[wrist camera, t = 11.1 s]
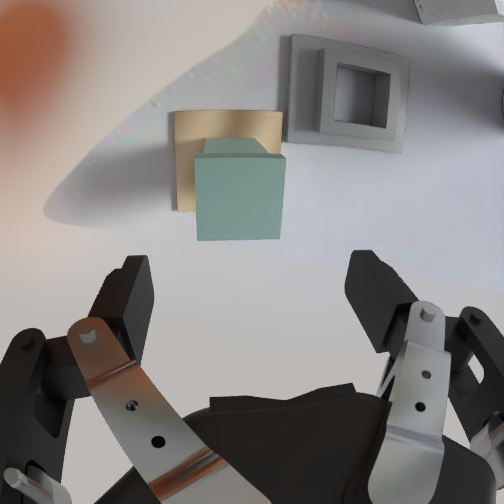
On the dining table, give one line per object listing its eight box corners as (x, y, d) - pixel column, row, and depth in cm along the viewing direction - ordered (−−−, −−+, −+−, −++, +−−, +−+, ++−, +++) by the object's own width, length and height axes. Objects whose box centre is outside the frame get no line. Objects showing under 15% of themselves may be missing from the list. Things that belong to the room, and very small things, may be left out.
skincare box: (421, 25, 22) (498, 17, 11) (409, -8, 20) (482, -27, 9) (455, 27, 21) (528, 25, 11) (444, -5, 19) (515, -15, 9)
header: (404, 60, 24) (420, 59, 22) (396, 151, 29) (410, 158, 27) (290, 35, 23) (298, 29, 20) (285, 141, 28) (292, 146, 25)
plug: (258, 134, 27) (286, 158, 17) (256, 186, 29) (279, 239, 19) (202, 134, 26) (194, 158, 16) (202, 186, 29) (197, 241, 19)
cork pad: (281, 111, 26) (282, 111, 26) (275, 207, 31) (276, 209, 31) (175, 111, 25) (174, 111, 25) (178, 209, 30) (177, 211, 30)
